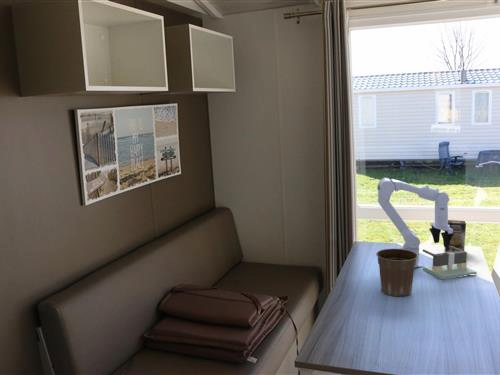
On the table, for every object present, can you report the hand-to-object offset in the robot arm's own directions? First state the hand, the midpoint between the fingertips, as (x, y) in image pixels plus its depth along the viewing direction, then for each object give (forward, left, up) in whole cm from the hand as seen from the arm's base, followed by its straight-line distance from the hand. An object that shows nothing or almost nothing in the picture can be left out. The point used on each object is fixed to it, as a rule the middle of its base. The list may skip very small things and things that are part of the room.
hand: (441, 244), depth 242 cm
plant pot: (-36, -20, -11) cm, 43 cm away
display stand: (-1, -8, -10) cm, 14 cm away
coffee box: (+20, +16, -11) cm, 27 cm away
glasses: (-2, -4, -6) cm, 8 cm away
